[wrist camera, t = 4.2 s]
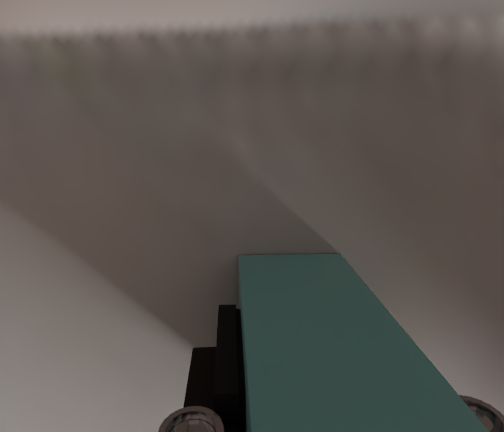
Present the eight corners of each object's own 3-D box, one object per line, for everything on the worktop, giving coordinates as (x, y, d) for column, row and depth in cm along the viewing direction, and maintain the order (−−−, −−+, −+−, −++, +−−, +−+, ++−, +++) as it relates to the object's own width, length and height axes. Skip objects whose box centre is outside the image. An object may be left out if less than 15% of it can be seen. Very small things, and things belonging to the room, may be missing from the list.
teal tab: (339, 253, 13) (582, 542, 4) (331, 377, 14) (502, 803, 5) (238, 255, 12) (261, 564, 4) (239, 381, 14) (257, 831, 5)
